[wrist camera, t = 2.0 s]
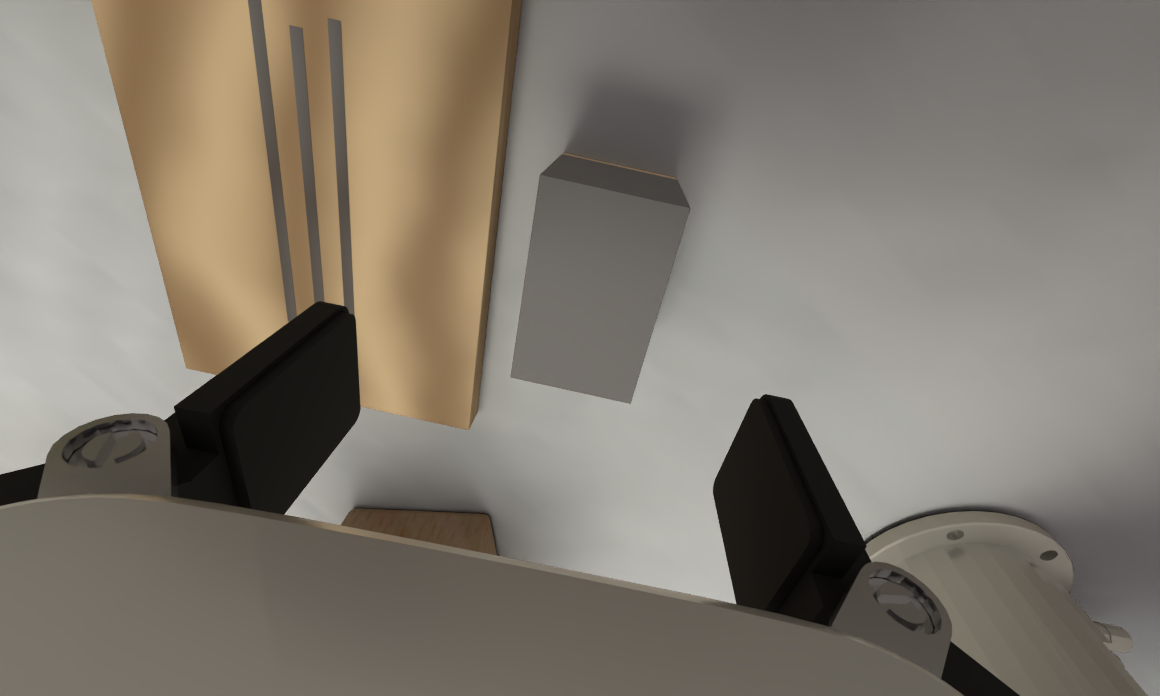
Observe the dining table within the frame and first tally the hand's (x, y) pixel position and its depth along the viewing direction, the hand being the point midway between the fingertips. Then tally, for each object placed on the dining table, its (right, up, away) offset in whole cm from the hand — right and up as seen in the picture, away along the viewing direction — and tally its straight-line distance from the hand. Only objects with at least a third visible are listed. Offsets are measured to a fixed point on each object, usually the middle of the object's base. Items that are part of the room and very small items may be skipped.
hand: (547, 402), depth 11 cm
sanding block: (+2, +6, +11) cm, 13 cm away
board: (-11, +9, +11) cm, 18 cm away
